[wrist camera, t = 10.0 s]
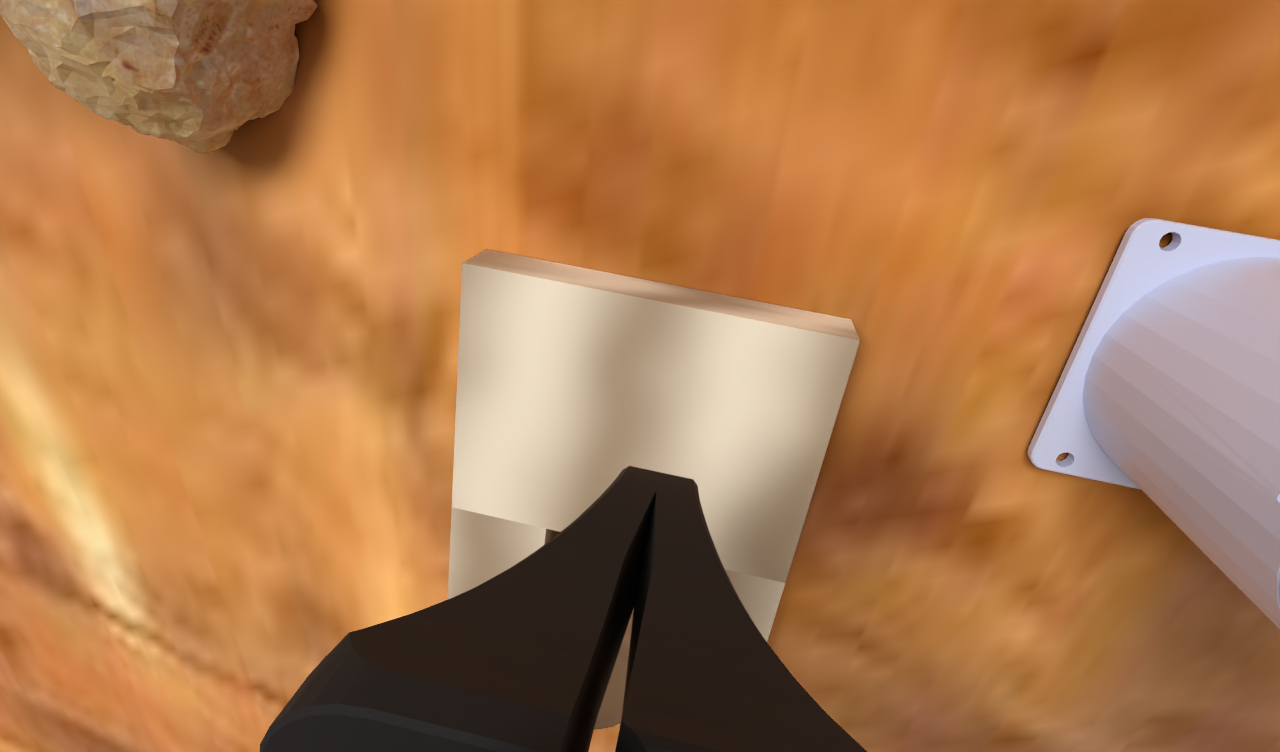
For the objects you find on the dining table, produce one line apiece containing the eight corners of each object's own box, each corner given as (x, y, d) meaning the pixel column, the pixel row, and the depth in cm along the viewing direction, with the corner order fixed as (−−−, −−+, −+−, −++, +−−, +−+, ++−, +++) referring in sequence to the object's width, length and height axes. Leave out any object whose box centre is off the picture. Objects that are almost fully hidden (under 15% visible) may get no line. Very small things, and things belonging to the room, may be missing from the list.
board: (850, 319, 21) (860, 340, 19) (742, 682, 27) (741, 723, 26) (486, 249, 22) (462, 263, 20) (465, 615, 28) (445, 650, 27)
